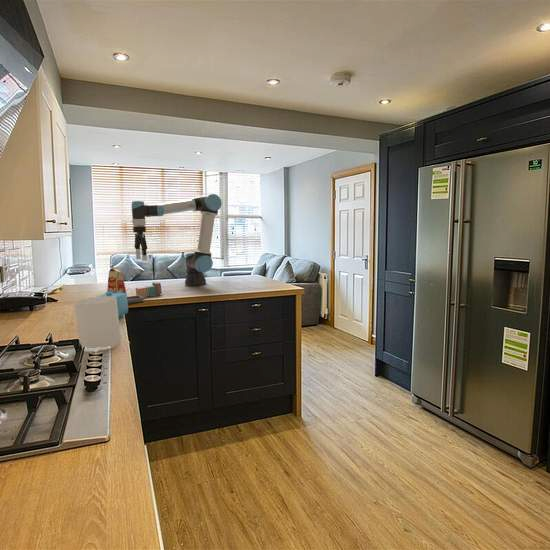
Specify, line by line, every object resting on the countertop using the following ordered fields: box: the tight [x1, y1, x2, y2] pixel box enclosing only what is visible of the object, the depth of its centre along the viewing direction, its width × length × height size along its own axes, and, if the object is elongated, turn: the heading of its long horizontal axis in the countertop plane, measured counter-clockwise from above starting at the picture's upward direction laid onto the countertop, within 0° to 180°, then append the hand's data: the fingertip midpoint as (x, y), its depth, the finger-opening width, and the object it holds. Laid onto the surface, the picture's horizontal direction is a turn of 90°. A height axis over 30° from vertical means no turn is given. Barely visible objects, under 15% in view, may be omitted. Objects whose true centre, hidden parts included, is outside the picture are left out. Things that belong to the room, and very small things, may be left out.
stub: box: [135, 286, 147, 298], centre depth 241 cm, size 5×5×6 cm
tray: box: [127, 295, 145, 305], centre depth 229 cm, size 10×10×2 cm
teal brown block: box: [143, 281, 163, 297], centre depth 246 cm, size 9×7×8 cm
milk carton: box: [106, 266, 127, 293], centre depth 242 cm, size 9×9×20 cm
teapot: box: [96, 290, 129, 319], centre depth 190 cm, size 22×11×14 cm, turn 175°
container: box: [74, 296, 122, 349], centre depth 149 cm, size 14×14×18 cm
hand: (141, 259), depth 245 cm, fingers open, 13 cm apart
